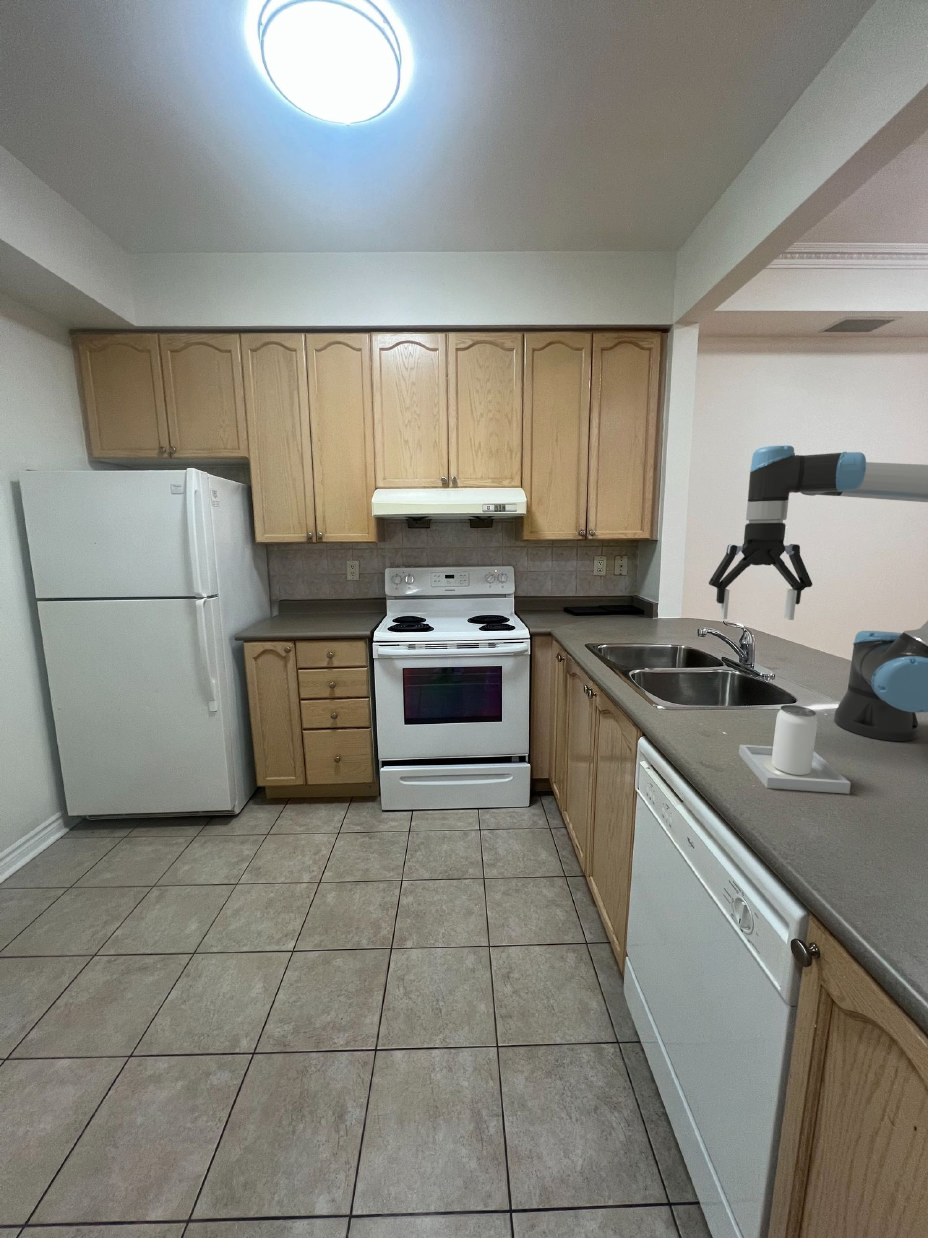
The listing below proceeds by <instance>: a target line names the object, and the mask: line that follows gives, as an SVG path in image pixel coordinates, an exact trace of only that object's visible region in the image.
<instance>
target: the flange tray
mask: <svg viewBox="0 0 928 1238" xmlns="http://www.w3.org/2000/svg"><path fill="white" fill-rule="evenodd" d="M772 752H773V746H771V745H767V746H766V745H752V744H739V749H738V755H739V756H740V757H741V759H742V760H743V761H744V762H745V764H746V765H747V766H748V767H749V768H750V769H751V771H752V772H753V773H754V775H756V777H757V778H758V779H759V781H760V782H761V783H762V785H764V787H765V788H766V789H775V790H789V791H791V790H792V791H805V792H818V793H820V792H821V793H834V794H835V793H836V794H848V795H849V794H850V793H851V792H850V791H851V784H852V783H851V781H849V780H848V779H847V778H846V777H845V776H843V775H842V774H841V773H840V772H839V771H838V770H836V769H835V768H834V767H833V766H832V765H831V764H829V763H828V762H827V761H826V760H825V759H824V758H822V756H820V755H819V754H818V753H817V752H816V751H814V753H813V760H812V767H811V772H810V773H809V774H807V775H804V776H796V775H790V774H786V773H784V772H781V771H779V770H777V769H776V768H775V767H774V766H773V765H772Z"/></svg>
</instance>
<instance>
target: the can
mask: <svg viewBox="0 0 928 1238" xmlns="http://www.w3.org/2000/svg"><path fill="white" fill-rule="evenodd" d="M816 715H817V713H816V711H815V710H813V709H811V708H809V707H805V706H803V705H802V706H801V705H796V704H784V705H781V706H780V710H779V711H778V713H777V714H776V720H775V721H776V722H775V729H774V736H773V744H772V745H773V746H772V747H773V752H772V765H773V766H774V767H775V768H776V769H777V770H779V771H781V772H784V773H786V774H790V775H796V776H804V775H807V774H809V773H810V772H811V767H812V760H813V753H814V752H815V744H816V737H817V731H818V719H817V716H816Z"/></svg>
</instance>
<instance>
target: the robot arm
mask: <svg viewBox="0 0 928 1238" xmlns="http://www.w3.org/2000/svg"><path fill="white" fill-rule="evenodd" d="M866 457H867V456H866V455H865V454H864V453H863V452H860V451H854V452H853V451H852V452H850V451H849V452H848V451H842V452H833V453H832V452H831V453H820V454H806V455H803V454H802V455H799V454H796V453H795V448H794V447H793V446H792V445H786V444H785V445H769V446H765V447H764V446H763V447H759V448H757V449H755V451H754V452H753V453H752V457H751V465H750V470H749V482H748V483H749V484H748V492H747V493H748V496H747V507H746V516H745V520H746V521H747V522H748V523H746V524H745V525H744V535H743V544H742V545H736V544H728V545H727V548H726V552H725V555H724V557H723V558H722V560H721V561H720V563H719V565H718V566H717V568H716V570H715V571H714V573H713V575H712V576H711V578H710V580H709V581H708V585H709V586H711V587H715V588H716V590H717V591H716V597H715V598H716V603H717V604H720V605H719V614H718V616H719V618H721V619H723V620H727V619H728V613H729V612H728V611H729V600H730V591H731V590H730V589H727V588H728V587H729V586H730V585H731V584H732V583H733V582H734V581H735V580H736V579H737V578H738V577H739V576H740V575H741V574H742V573H743V572H744V571H745V570H746V569H747V568H749V567H750V566H751V565H752V566H762V565H763V566H771V565H772V566H773V567H774V568H775V569H776V570H777V571H778V572H779V573H780V575H781V576H782V577H783V578H784V580H785V581H786V582H787V584H788V585H789V586H790V587H791V588H787V589H786V597H785V598H786V599H785V606H784V607H785V608H784V616H783V617H784V619H787V620H789V621H794V620H795V619H794V618H795V611H796V605H799V604H800V603H801V598H802V596H801V595H802V591H804V590H805V589H806V588H811V587H813V582H812V579H811V576H810V575H809V572H808V570H807V567H806V566H805V563H804V560H803V558H802V556H801V546H800V544H798V543H797V544H796V543H790V544H787V545H785V544H784V541H785V535H786V527H787V524H786V523H785V522H784V521H786V520H787V519H788V518H787V517H788V507H789V501H790V500H789V499H790V498H789V497H790V493H791V494H792V493H795V494H797V493H798V494H799V493H800V494H801V495H805V496H810V497H811V496H812V497H813V496H828V497H829V496H831V497H846V498H847V497H849V498H859V499H873V500H874V499H875V500H876V499H877V500H887V501H905V502H916V503H917V502H918V503H919V502H920V503H928V464H919V463H918V464H917V463H913V464H912V463H898V462H897V463H896V462H895V463H893V462H872V461H868V462H867V458H866ZM740 552H741V554H742V555H743V557H742V558H741V559H740V560H739V561H738V563H737V564H736V565H735V566H734V567H733V568H732V569H731V570H730V571H729V572H728V573H727V574H726V575H725V573H726V572H727V571H728V570H729V568H730V566H731V564H732V563H733V561H734V560H735V558H736V556H738V555H739V554H740ZM784 553H785V554H786V555H788V557H789V560H790V562H791V564H792V567H793V569H794V571H795V574H796V576H797V577H796V576H795V575H794V573H793V572H792V571H791V570H790V568H789V567H788V566H787V565H786V562H785V561H784V560H783V559H782V558H781V556H782V555H783V554H784ZM797 578H798V579H797ZM852 646H853V649H852V654H851V655H852V656H851V663H850V670H849V676H848V684H847V691H846V693H845V694H844V696H843V698H842V699H841V701H840V703H839V705H838V706H837V707H836V709H835V711H834V716H833V717H834V718H833V722H834V723H835V725H837V726H839V727H840V728H842V729H843V730H846V731H848V732H851V733H853V734H856V735H860V736H863V737H867V738H872V739H876V740H877V739H878V740H881V741H882V740H883V741H889V742H891V741H892V742H910V741H909V740H911V741H914V740H916V739H917V738H918V737H917V736H919V730H920V725H919V722H918V717H917V715H916V713H919V714H920V713H928V620H927V621H926V622H925V623H923V625H922V626H920V628H917V629H911V630H904V631H903V632H893V631H892V632H891V631H881V630H880V631H879V630H861V631H858V632H857V633H856V634H855V638H854V641H853V643H852ZM915 738H916V739H915ZM913 739H914V740H913Z"/></svg>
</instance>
